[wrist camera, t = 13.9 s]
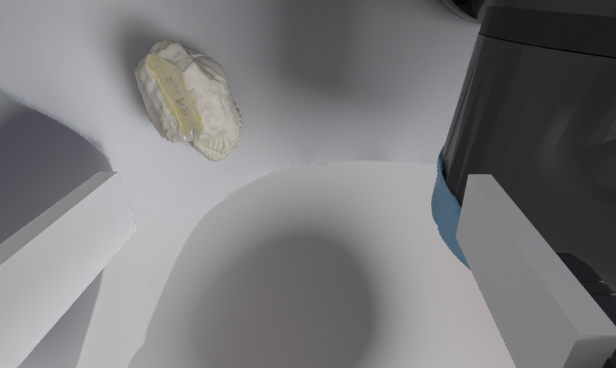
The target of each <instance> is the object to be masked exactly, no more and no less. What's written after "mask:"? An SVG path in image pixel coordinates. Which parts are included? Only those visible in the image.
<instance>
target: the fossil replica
mask: <svg viewBox="0 0 616 368" xmlns="http://www.w3.org/2000/svg"><path fill="white" fill-rule="evenodd" d="M134 74H135V77H136V81H137V86H138V88H139V90H140V93H141V95H142V98H143V101H144V104H145V109H146V111H147V114H148V115H149V118H150V121H151V122H152V123H153V125H154V127H155V128H156V130H157V131H158V132H159V133H160V135H161V137H162V138H166V139H167V140H168V141H171V142H173V143H177V142H189V143H190V144H191V145H192V147H194V148H195V150H197V151H198V152H200V153H201V154H203V155H204V156H205V157H206V158H208V159H209V160H211V161H212V160H213V161H219V160H222V159H223V158H224V157H226V156H228V152H229V151H231V150H232V149H233V147H235V146H236V145H237V142H239V137H240V136H241V133H240V132H241V130H242V127H241V125H242V124H243V123H242V121H240V120H241V118H242V117H241V115H239V113H240V111H239V110H238V109H237V108H236V103H235V102H233V99H232V95H231V94H230V92H229V88H230V86H229V85H228V82H227V78H226V73H225V71H224V69H223V68H222V67H221V66H220V65H219V64H218V63H217V62H216V61H214V60H212V59H211V58H210V57H207V56H205V55H204V54H200V53H199V52H197V51H195V50H189V49H187V48H183V47H182V45H181V44H179V43H178V42H174V41H167V40H159V41H157V42H155V43H154V46H153V47H152V48H151V49H150V50H149V52H148V53H147V55H146V56H145V57H144V58H143V59H142V60H141V61H140V62H139V63H138V65H137V67H136V69H135V71H134Z"/></svg>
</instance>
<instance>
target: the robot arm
mask: <svg viewBox="0 0 616 368" xmlns="http://www.w3.org/2000/svg"><path fill="white" fill-rule="evenodd" d="M441 1H442V2H443V4H444V5H445V6H446V7H447V8H449V9H450V10H451V11H452V12H454V13H455V14H457V15H458V16H460V17H462V18H464V19H466V20H469V21H472V22H475V23H479V24H482V25H481V29H480V31H479V33H478V35H477V39H476V42H475V46H474V49H473V52H472V56H471V59H470V63H469V66H468V70H467V73H466V76H465V80H464V83H463V87H462V90H461V94H460V97H459V101H458V104H457V107H456V111H455V114H454V117H453V120H452V123H451V127H450V130H449V133H448V136H447V139H446V142H445V145H444V146H443V148H442V150H441V152H440V154H439V157H438V162H437V169H438V170H437V172H438V174H437V178H436V182H435V187H434V191H433V195H432V202H431V207H432V215H433V219H434V220H435V222H436V224H437V225H438V230H439V233H440V235H441V237H442V239H443V240H444V242H445V243H446V245H447V246H448V247H449V249H450V250H451V251H452V252H453V254H454V255H455V256H456V257H457V258H458V259H459V260H460V261H461V262H462V263H463V264H464V265H465V266H466V267H468V268H469V269H470V270H471V271H472V273H473V275H474V278H475V280H476V282H477V284H478V286H479V289H480V291H481V293H482V295H483V297H484V299H485V301H486V304H487V306H488V308H489V310H490V312H491V314H492V317H493V319H494V321H495V323H496V325H497V327H498V329H499V332H500V334H501V336H502V338H503V340H504V342H505V344H506V347H507V349H508V351H509V353H510V355H511V357H512V360H513V362H514V364H515V366H516V368H616V0H441ZM136 230H137V229H136V226H135V223H134V220H133V217H132V214H131V211H130V208H129V205H128V202H127V199H126V196H125V193H124V190H123V187H122V183H121V180H120V177H119V174H118V172H98V173H97V174H95V175H94V176H92V177H91V178H90V179H88V180H87V181H86V182H84V183H83V184H82V185H80V186H79V187H78V188H76V189H75V190H73V191H72V192H71V193H69V194H68V195H67V196H66V197H64V198H63V199H61V200H60V201H59V202H57V203H56V204H54V205H53V206H52V207H50V208H49V209H48V210H46V211H45V212H44V213H42V214H41V215H39V216H38V217H37V218H35V219H34V220H33V221H32V222H30V223H29V224H27V225H26V226H25V227H23V228H22V229H20V230H19V231H18V232H16V233H15V234H14V235H12V236H11V237H10V238H8V239H7V240H5V241H4V242H3V243H1V244H0V368H17V367H18V366H19V365H20V364H21V363H22V361H23V360H24V359H25V358H26V357H27V356H28V354H29V353H30V352H31V351H32V350H33V349H34V348H35V346H36V345H37V344H38V343H39V342H40V341H41V339H42V338H43V337H44V336H45V335H46V334H47V333H48V331H49V330H50V329H51V328H52V327H53V326H54V324H55V323H56V322H57V321H58V320H59V319H60V318H61V316H62V315H63V314H64V313H65V312H66V310H67V309H68V308H69V307H70V306H71V305H72V304H73V302H74V301H75V300H76V299H77V298H78V297H79V296H80V294H81V293H82V292H83V291H84V290H85V289H86V288H87V286H88V285H89V284H90V283H91V282H92V281H93V280H94V278H95V277H96V276H97V275H98V274H99V273H100V271H101V270H102V269H103V268H104V267H105V266H106V265H107V263H108V262H109V261H110V260H111V259H112V258H113V256H114V255H115V254H116V253H117V252H118V251H119V250H120V248H121V247H122V246H123V245H124V244H125V243H126V241H127V240H128V239H129V238H130V237H131V236H132V235H133V233H134V232H135V231H136Z"/></svg>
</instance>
